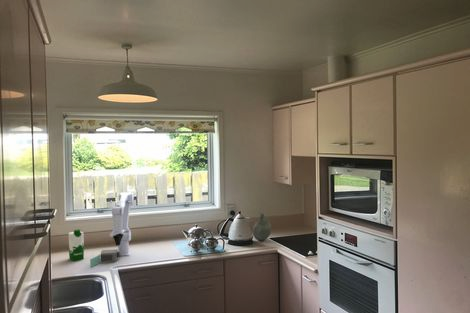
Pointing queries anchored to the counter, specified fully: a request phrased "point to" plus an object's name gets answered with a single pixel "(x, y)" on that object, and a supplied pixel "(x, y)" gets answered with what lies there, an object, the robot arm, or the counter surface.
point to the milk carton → (76, 245)
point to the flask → (261, 229)
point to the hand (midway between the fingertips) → (117, 245)
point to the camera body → (109, 255)
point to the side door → (95, 261)
